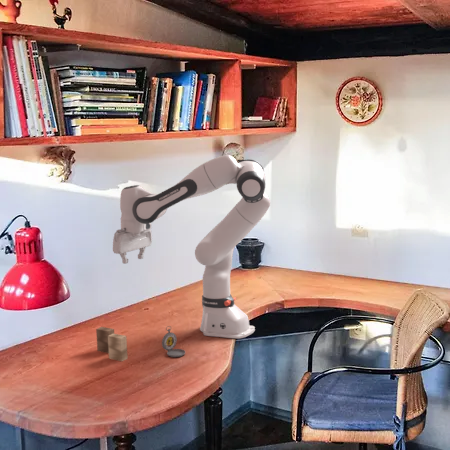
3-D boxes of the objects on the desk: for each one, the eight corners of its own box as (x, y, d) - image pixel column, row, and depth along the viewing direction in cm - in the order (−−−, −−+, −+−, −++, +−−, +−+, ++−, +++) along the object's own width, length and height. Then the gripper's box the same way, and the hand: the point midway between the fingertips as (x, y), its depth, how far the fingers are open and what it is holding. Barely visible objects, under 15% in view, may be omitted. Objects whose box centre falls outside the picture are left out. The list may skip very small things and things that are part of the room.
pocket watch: (182, 358, 221) (181, 331, 220) (160, 357, 223) (159, 330, 221) (188, 350, 229) (187, 324, 228) (166, 349, 231) (165, 323, 229)
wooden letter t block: (127, 358, 223) (126, 335, 221) (122, 361, 220) (120, 338, 219) (114, 355, 226) (113, 333, 224) (109, 358, 223) (107, 335, 222)
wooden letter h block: (115, 350, 230) (114, 329, 229) (109, 353, 228) (108, 331, 226) (102, 348, 233) (101, 326, 232) (97, 350, 231) (96, 329, 229)
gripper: (121, 231, 233) (122, 267, 235) (154, 223, 250) (155, 257, 252) (108, 229, 236) (109, 265, 238) (141, 222, 253) (142, 255, 255)
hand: (133, 261), depth 245 cm, fingers open, 8 cm apart
